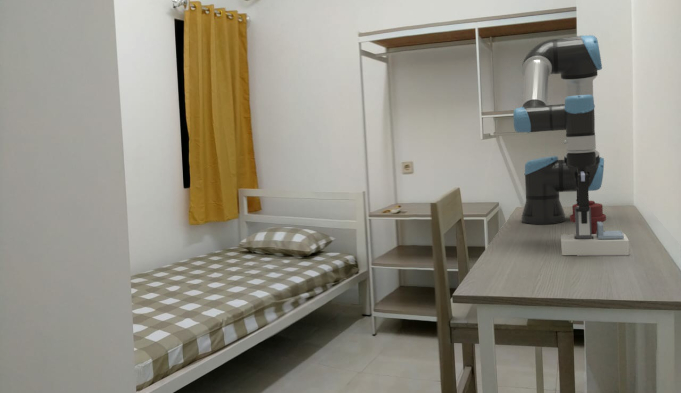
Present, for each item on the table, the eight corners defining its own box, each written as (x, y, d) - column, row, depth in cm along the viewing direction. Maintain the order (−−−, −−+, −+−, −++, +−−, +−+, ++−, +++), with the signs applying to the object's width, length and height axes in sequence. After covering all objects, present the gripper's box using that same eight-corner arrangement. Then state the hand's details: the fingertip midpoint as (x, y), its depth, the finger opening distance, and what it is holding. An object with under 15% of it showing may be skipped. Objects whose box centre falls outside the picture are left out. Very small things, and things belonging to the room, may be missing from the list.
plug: (576, 248, 176) (574, 200, 175) (591, 248, 175) (589, 199, 174) (576, 251, 173) (575, 202, 171) (592, 251, 171) (590, 201, 170)
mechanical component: (602, 238, 189) (610, 244, 180) (568, 239, 191) (573, 246, 182) (601, 198, 188) (608, 202, 178) (566, 200, 190) (572, 204, 180)
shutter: (596, 233, 175) (596, 221, 175) (621, 233, 173) (620, 220, 173) (598, 238, 169) (597, 225, 168) (623, 238, 167) (623, 225, 166)
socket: (561, 248, 180) (560, 234, 180) (625, 247, 175) (624, 233, 174) (561, 255, 171) (561, 241, 171) (629, 255, 165) (628, 240, 165)
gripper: (565, 149, 182) (568, 225, 185) (567, 155, 162) (570, 239, 164) (593, 148, 180) (595, 224, 182) (598, 153, 159) (601, 239, 162)
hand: (583, 231), depth 173 cm, fingers open, 9 cm apart
